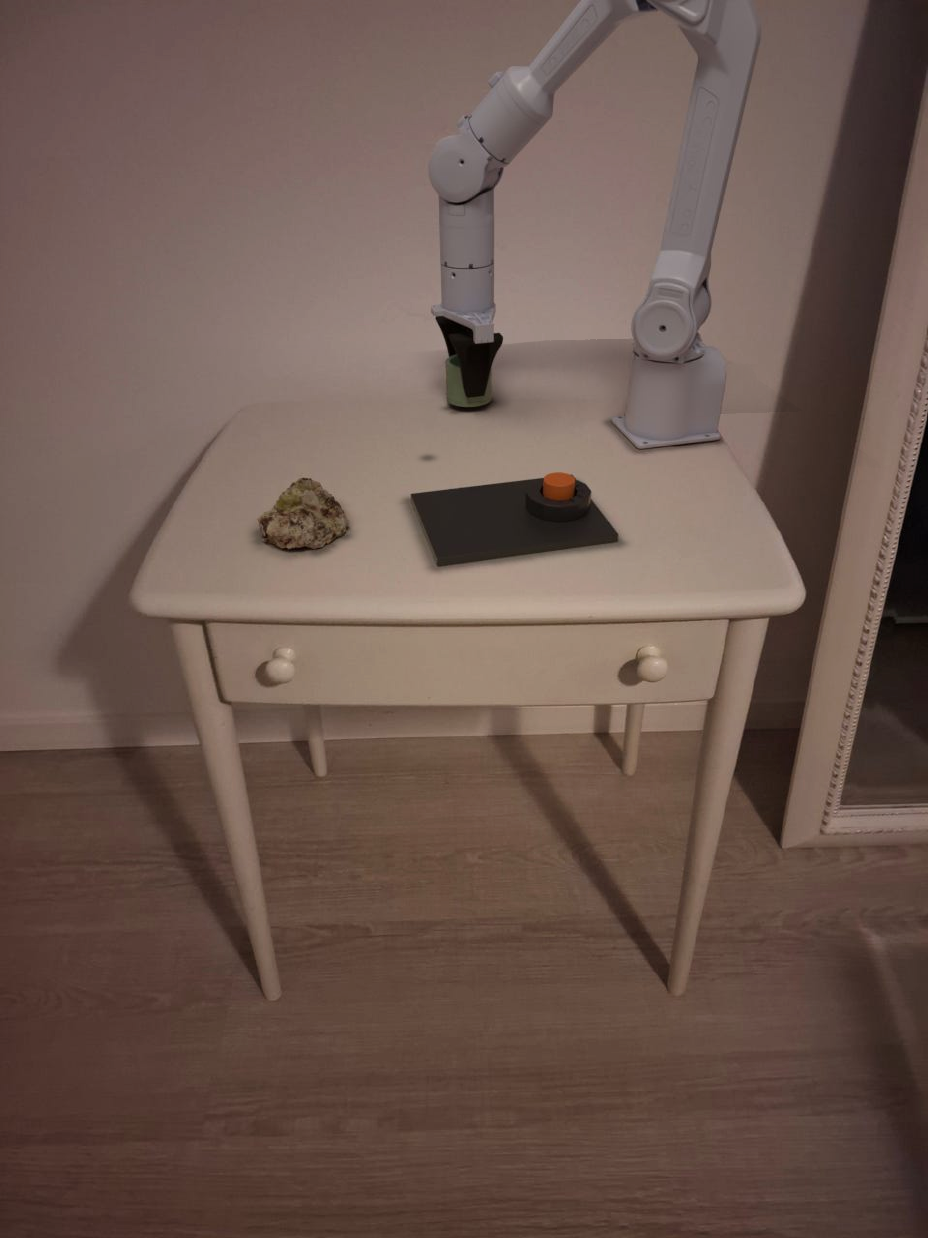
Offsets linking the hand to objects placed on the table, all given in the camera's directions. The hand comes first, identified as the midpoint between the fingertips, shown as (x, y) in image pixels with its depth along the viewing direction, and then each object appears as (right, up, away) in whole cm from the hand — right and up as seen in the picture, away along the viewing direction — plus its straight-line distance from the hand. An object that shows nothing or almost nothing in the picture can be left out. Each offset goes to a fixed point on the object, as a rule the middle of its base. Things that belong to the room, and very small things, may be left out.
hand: (468, 386), depth 100 cm
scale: (+4, -18, -21) cm, 28 cm away
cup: (0, -1, +1) cm, 1 cm away
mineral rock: (-15, -18, -22) cm, 32 cm away
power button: (+8, -16, -22) cm, 28 cm away
